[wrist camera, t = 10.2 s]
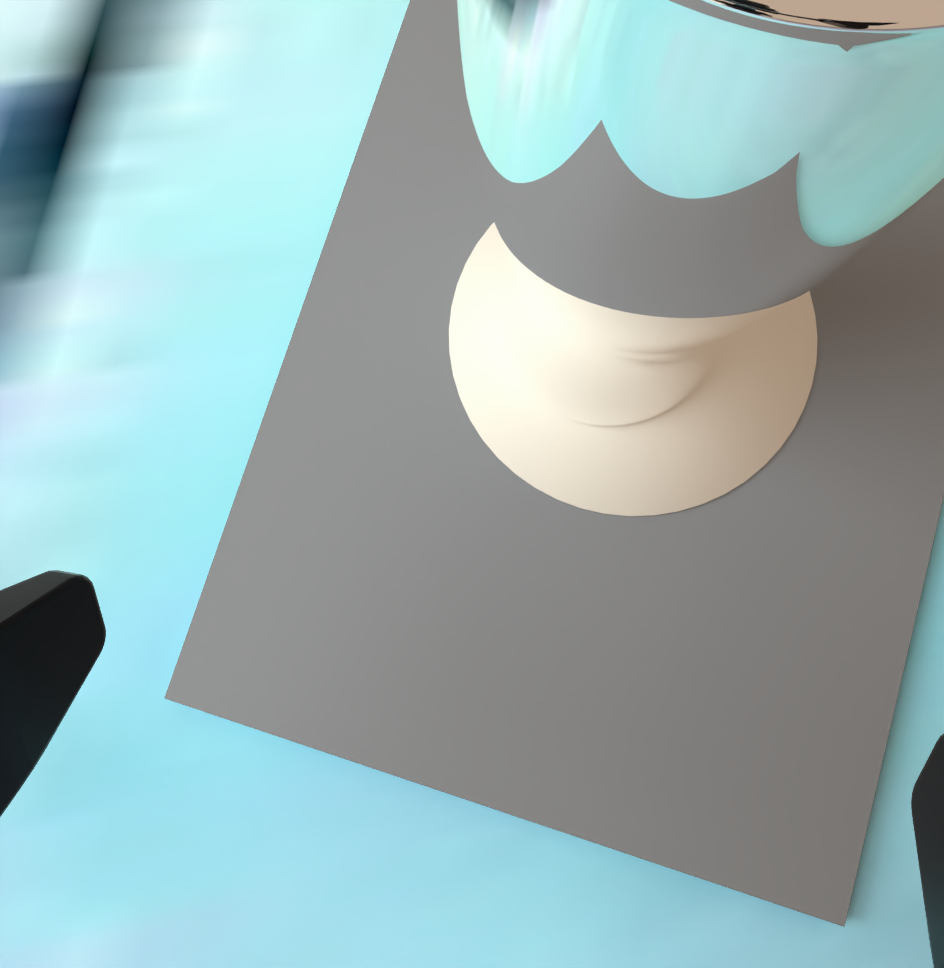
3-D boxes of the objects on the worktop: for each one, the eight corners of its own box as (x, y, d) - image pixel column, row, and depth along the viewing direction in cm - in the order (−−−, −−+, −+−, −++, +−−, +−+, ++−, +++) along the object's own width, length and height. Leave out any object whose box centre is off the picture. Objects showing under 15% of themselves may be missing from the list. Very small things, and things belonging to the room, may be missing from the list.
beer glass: (787, 348, 21) (1534, -284, 6) (577, 494, 20) (789, 226, 5) (634, 154, 22) (932, -820, 7) (431, 290, 21) (266, -415, 6)
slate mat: (837, 919, 19) (846, 928, 18) (171, 696, 20) (162, 698, 20) (1019, 134, 22) (1032, 123, 21) (420, -15, 23) (419, -29, 23)
